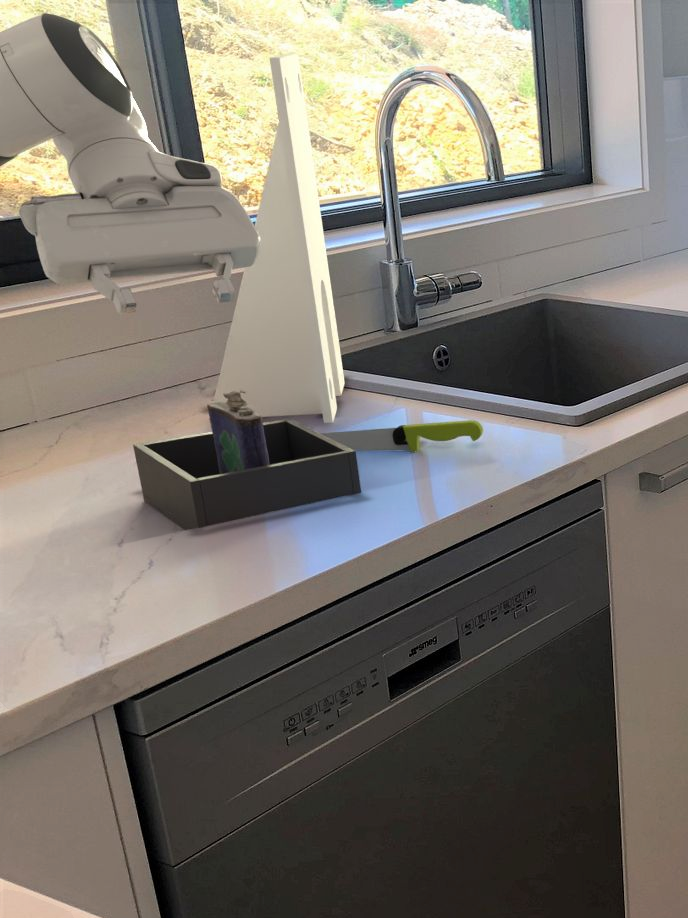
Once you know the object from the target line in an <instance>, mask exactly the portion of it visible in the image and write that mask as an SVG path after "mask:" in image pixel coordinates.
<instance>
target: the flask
mask: <svg viewBox="0 0 688 918" xmlns="http://www.w3.org/2000/svg"><path fill="white" fill-rule="evenodd" d="M240 393H244V394H245V393H246V391H245V390H240ZM240 393H239V392H235V391H232V392H230V393H224V394H223V395H224V397H225V398H227V399H228V400H227V402H226V401H218V402H211V403H207V412H208V416H209V418H210V420H209V421H210V427H211V428H210V429H211V432H212V433H213V437H214V442H215V448H216V453H217V459H218V466H219V471H220V474H223V473H229V472H234V471H240V470H245V469H250V468H256V467H261V466H266V465H270V463H269V457H268V451H267V446H266V440H265V435H264V428H263V423H264V422H263V417H261V416H260V415H259V414H258V413H257V412H256V411H255V410H253V409H251V408H248V407H246V406H248V404H247V402H246V401H244V400H243V399H241V394H240Z"/></svg>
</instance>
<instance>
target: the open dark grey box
mask: <svg viewBox="0 0 688 918" xmlns="http://www.w3.org/2000/svg"><path fill="white" fill-rule="evenodd" d="M263 428H264V435H265V440H266V446H267V451H268V457H269V463H270V465H266V466H261V467H256V468H250V469H245V470H240V471H234V472H229V473H223V474H220V471H219V466H218V459H217V453H216V448H215V442H214V437H213V433H212V431H209V432H201V433H196V434H190V435H184V436H178V437H177V436H176V437H172V438H167V439H160V440H154V441H148V442H142V443H137V444H132V447H133V452H134V457H135V463H136V467H137V472H138V478H139V482H140V486H141V492H142V497H143V501H144V502H145V503H146V504H147V505H149V506H150V507H152V508H154V510H155V511H157V512H159V513H160V514H161V515H163V516H164V517H166V518H167V519H168V520H170V521H171V522H172V523H173V524H174V523H175V525H177V526H178V527H179V528H181V529H182V530H184V531H189V530H193V529H199V528H204V527H210V526H215V525H219V524H224V523H229V522H232V521H236V520H241V519H242V520H243V519H246V518H252V517H255V516H260V515H265V514H269V513H275V512H278V511H282V510H287V509H292V508H296V507H301V506H305V505H311V504H314V503H319V502H324V501H329V500H334V499H337V498H343V497H347V496H351V495H356V494H360V493H362V488H361V479H360V471H359V463H358V456H357V450H352V449H350V448H348V447H346V446H344V445H342V444H340V443H338V442H336V441H334V440H332V439H330V438H328V437H326V436H324V435H322V434H320V433H321V432H318V431H316V430H315V429H312V428H310V427H308V426H306V425H304V424H302V423H301V422H298V421H296V420H294V419H292V418H286V419H279V420H275V421H274V420H273V421H268V422H263Z"/></svg>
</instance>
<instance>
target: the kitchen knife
mask: <svg viewBox="0 0 688 918" xmlns="http://www.w3.org/2000/svg"><path fill="white" fill-rule="evenodd" d="M319 433H320V434H322V435H324V436H326V437H328V438H330V439H332V440H334V441H336V442H338V443H340V444H342V445H344V446H346V447H348V448H350V449H352V450H354V451H383V450H410V451H409V452H410V453H416V452H415V451H418V450H419V449H420V450H421V448H420V447H421V446H420V445H421V443H420V441H421V438H423V439H426V440H429V441H434V442H448V441H452V440H455V439H458V438H460V437H470V439H471V440H472V442H476V441H477V440H479V439H480V438H481V437H482V435H483V433H484V428H483V425H482V424H481V422H479V421H477V420H475V419H468V420H454V421H442V422H441V421H439V422H428V423H427V422H426V423H415V424H414V423H413V424H400V425H398V426H397V427H386V428H372V429H360V430H358V429H357V430H346V431H345V430H344V431H332V432H319ZM420 450H419V451H420ZM419 451H418V452H419Z"/></svg>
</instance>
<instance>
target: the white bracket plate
mask: <svg viewBox="0 0 688 918" xmlns="http://www.w3.org/2000/svg"><path fill="white" fill-rule="evenodd" d="M269 64H270V71H271V77H272V84H273V90H274V97H275V98H274V99H275V105H276V111H277V117H278V124H277V129H276V133H275V138H274V142H273V146H272V150H271V154H270V159H269V163H268V168H267V171H266V176H265V180H264V184H263V189H262V193H261V197H260V201H259V205H258V206H259V207H258V210H257V214H256V218H255V222H254V226H255V228H256V230H257V232H258V234H259V237H260V250H259V253H258V256H257V259H256V261H255V262H254V264H253V265H252V266H250V267H244V269H243V274H242V278H241V283H240V286H239V291H238V295H237V299H236V304H235V308H234V313H233V317H232V321H231V324H230V328H229V333H228V338H227V342H226V346H225V351H224V354H223V359H222V364H221V367H220V372H219V375H218V381H217V384H216V389H215V393H214V398H213V402H218V401H226V402H227V400H228V399H227V398H225V397H224V395H223V394H224V393H230V392H232V391H235V392H239V393H240V390H245V391H246V393H245V394H244V393H240V394H241V399H243V400H244V401H246V402H247V404H248V406H246V407H248V408H251V409H253V410H255V411H256V412H257V413H258V414H259V415H260V416H261V417H262V418H265V417H266V418H267V417H283V416H284V417H285V416H286V417H287V416H300V415H301V416H302V415H303V416H304V415H305V416H306V415H320V414H322V419H323V424H333V423H334V421H335V418H336V414H337V410H338V405H337V399H336V398H337V397H340V396H342V394H343V391H344V388H345V384H346V383H345V376H344V375H345V374H344V369H343V362H342V361H343V360H342V353H341V348H340V339H339V333H338V332H339V331H338V327H337V325H338V324H337V319H336V313H335V306H334V297H333V291H332V283H331V276H330V270H329V262H328V255H327V254H328V253H327V247H326V241H325V233H324V227H323V219H322V212H321V206H320V198H319V193H318V192H319V191H318V184H317V179H316V178H317V177H316V170H315V163H314V157H313V156H314V155H313V147H312V141H311V135H310V128H309V127H310V126H309V121H308V113H307V106H306V100H305V93H304V92H305V91H304V85H303V77H302V72H301V65H300V64H301V63H300V58H299V53H297V52H296V53H295V52H294V53H293V52H292V53H291V52H290V53H284V54H280V55H275V56H270V57H269ZM213 402H212V403H213ZM209 421H210V417H209Z"/></svg>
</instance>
